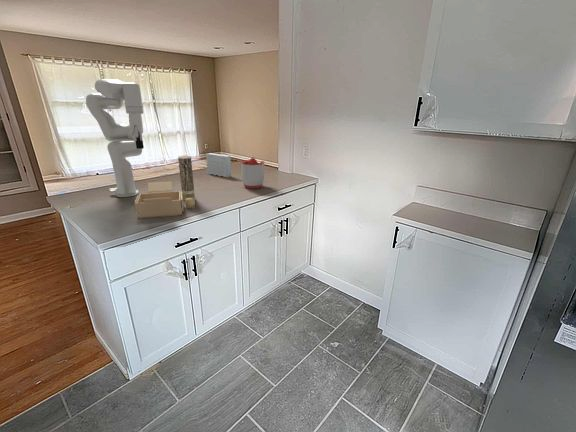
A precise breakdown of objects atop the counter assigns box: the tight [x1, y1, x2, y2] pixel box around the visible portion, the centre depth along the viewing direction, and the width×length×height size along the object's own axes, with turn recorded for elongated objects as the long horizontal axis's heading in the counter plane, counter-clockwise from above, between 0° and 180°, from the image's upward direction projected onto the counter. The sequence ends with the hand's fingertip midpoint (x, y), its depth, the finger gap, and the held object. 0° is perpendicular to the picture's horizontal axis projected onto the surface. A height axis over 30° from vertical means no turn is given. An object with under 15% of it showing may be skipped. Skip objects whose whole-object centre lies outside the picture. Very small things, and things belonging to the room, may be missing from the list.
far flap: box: [147, 180, 173, 193], centre depth 159 cm, size 12×1×6 cm
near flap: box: [143, 197, 172, 203], centre depth 139 cm, size 12×1×6 cm
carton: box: [134, 190, 184, 220], centre depth 152 cm, size 22×16×8 cm
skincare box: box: [205, 152, 232, 178], centre depth 226 cm, size 21×5×16 cm, turn 58°
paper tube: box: [177, 155, 196, 201], centre depth 168 cm, size 7×7×25 cm
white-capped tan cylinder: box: [184, 197, 196, 210], centre depth 159 cm, size 5×5×5 cm
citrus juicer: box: [240, 157, 265, 190], centre depth 198 cm, size 16×17×20 cm
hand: (140, 148), depth 150 cm, fingers closed
